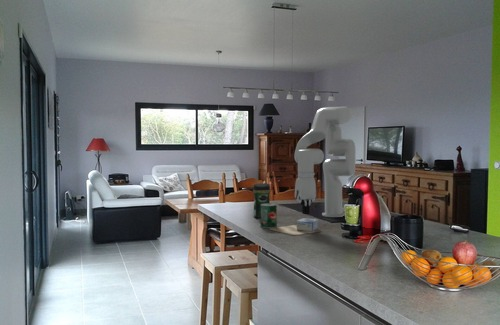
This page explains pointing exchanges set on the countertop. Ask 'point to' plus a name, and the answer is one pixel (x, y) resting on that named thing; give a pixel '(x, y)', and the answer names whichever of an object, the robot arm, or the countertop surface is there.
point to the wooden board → (292, 230)
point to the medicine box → (307, 224)
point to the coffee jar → (260, 197)
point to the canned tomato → (268, 215)
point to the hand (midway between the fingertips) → (305, 213)
